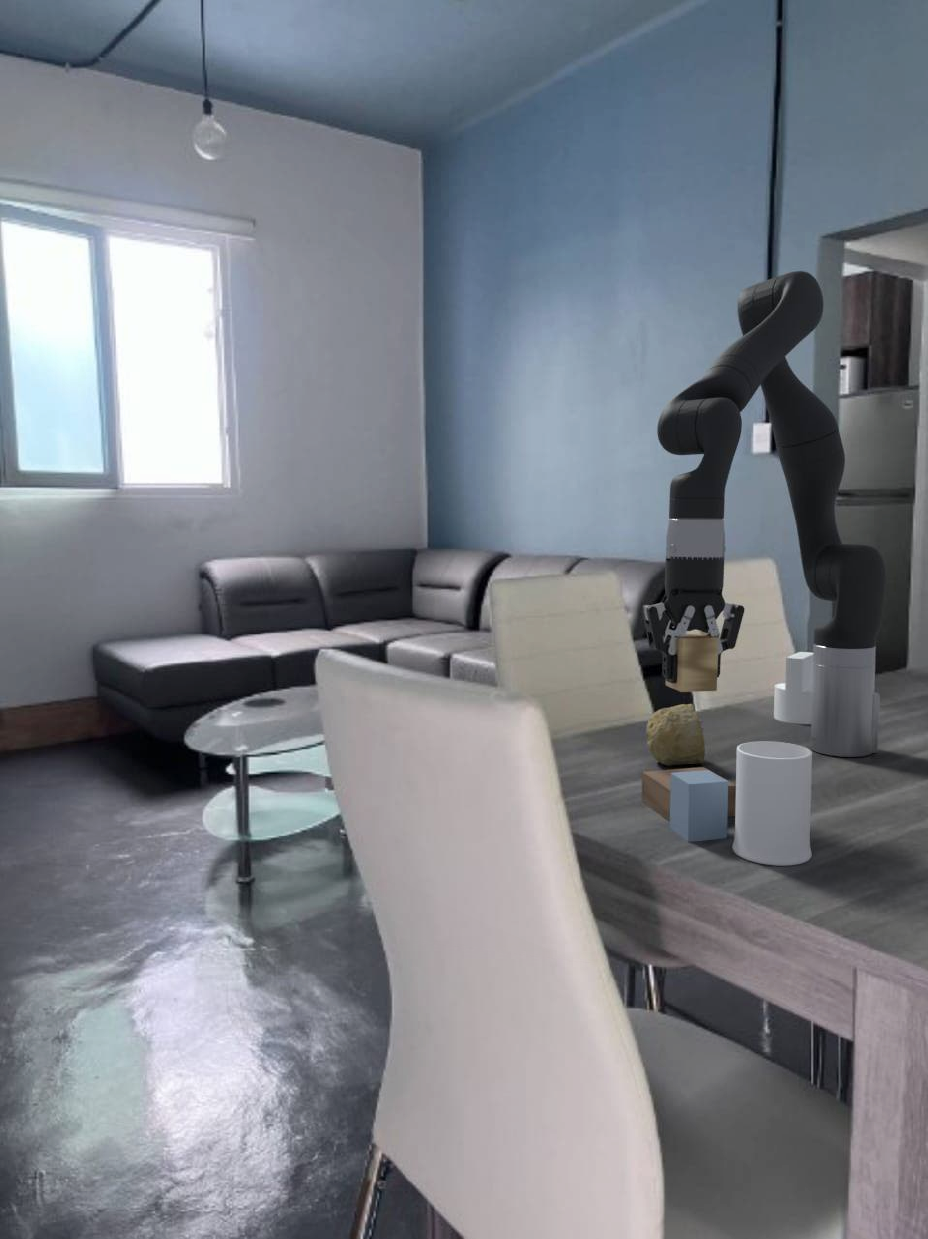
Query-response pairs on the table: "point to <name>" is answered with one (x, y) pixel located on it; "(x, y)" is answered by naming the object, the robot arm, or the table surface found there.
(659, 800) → the walnut slab
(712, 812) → the slate block
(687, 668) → the oak block
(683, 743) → the coral
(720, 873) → the table surface
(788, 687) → the base with upright slab
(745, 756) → the mug
